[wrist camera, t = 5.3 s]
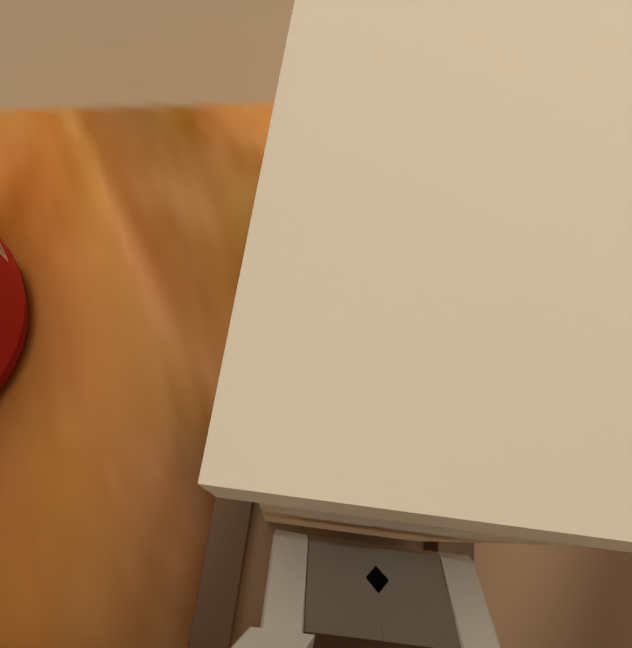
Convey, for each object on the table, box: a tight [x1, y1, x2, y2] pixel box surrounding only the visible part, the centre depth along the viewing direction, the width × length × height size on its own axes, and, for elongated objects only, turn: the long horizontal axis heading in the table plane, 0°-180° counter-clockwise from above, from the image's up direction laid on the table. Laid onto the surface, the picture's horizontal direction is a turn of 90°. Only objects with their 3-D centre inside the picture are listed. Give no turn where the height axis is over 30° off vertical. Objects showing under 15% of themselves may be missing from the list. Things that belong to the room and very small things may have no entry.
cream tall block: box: [198, 0, 632, 553], centre depth 8 cm, size 4×4×11 cm
